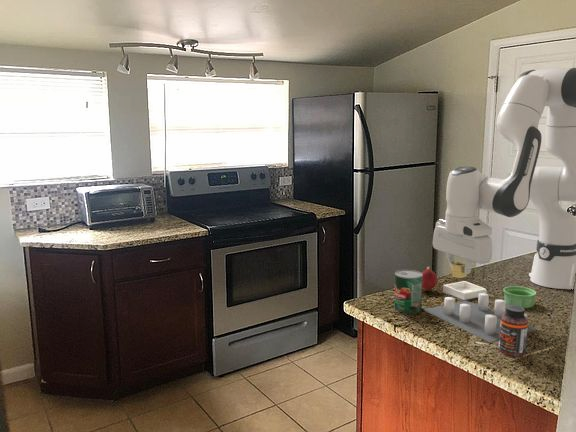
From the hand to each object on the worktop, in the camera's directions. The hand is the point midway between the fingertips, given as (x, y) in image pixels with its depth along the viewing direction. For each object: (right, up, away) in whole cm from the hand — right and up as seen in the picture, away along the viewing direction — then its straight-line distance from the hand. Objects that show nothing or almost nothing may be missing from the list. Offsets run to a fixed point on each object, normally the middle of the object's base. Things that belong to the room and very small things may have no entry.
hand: (459, 270), depth 151 cm
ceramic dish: (+6, -9, +14) cm, 18 cm away
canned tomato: (-15, -12, +2) cm, 19 cm away
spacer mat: (+2, -13, -7) cm, 15 cm away
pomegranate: (-5, -9, +18) cm, 20 cm away
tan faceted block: (0, -1, 0) cm, 1 cm away
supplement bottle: (+4, -17, -27) cm, 32 cm away
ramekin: (+19, -11, +5) cm, 23 cm away
